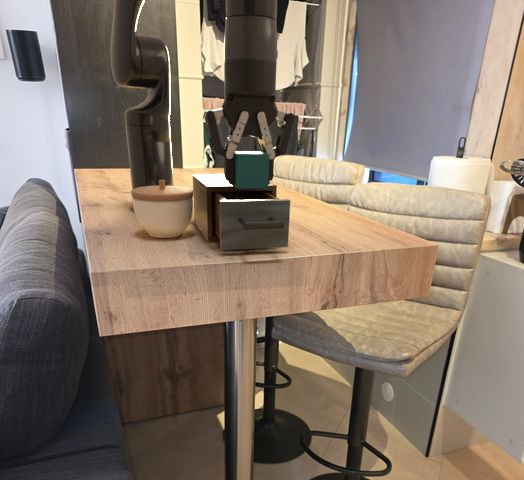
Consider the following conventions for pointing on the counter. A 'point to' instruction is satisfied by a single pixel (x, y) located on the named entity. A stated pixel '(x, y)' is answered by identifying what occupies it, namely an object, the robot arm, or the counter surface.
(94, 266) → the counter surface
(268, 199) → the drawer
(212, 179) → the cabinet
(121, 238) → the counter surface
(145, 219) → the trinket box
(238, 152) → the block
